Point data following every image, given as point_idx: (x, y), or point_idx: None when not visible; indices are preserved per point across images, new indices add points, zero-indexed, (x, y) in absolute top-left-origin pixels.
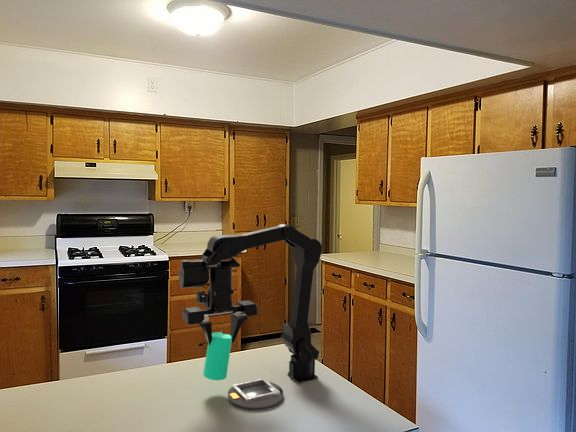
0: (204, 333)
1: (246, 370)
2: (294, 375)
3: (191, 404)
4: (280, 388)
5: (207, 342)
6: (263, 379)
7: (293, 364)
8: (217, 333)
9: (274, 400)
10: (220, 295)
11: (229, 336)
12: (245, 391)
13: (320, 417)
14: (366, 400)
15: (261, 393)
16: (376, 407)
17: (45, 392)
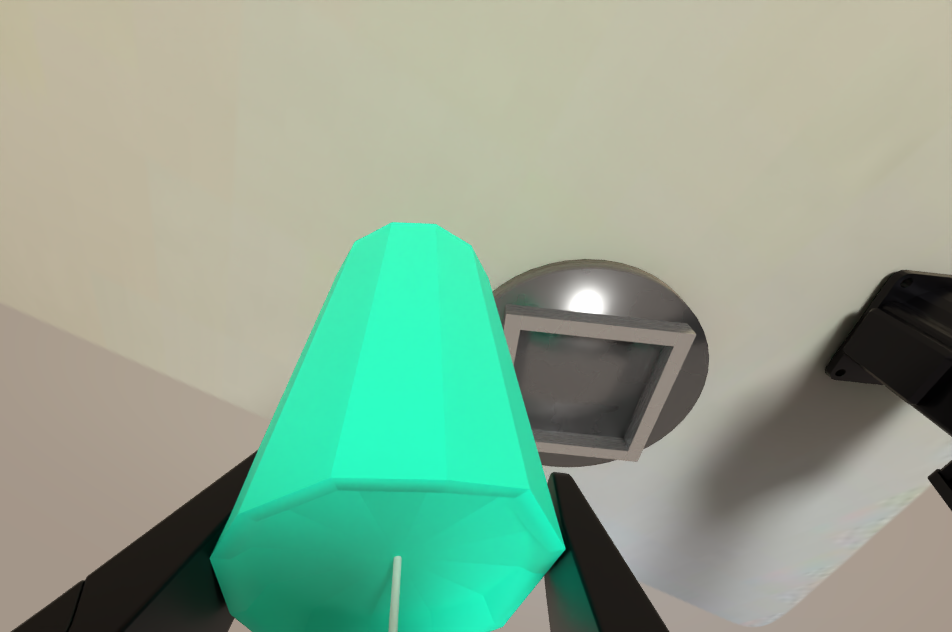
0: (88, 593)
1: (795, 40)
2: (857, 362)
3: (298, 289)
4: (686, 409)
5: (239, 467)
6: (681, 345)
7: (909, 400)
8: (395, 482)
9: (586, 462)
10: None
11: (536, 549)
12: (542, 358)
13: (637, 541)
14: (834, 547)
15: (587, 404)
16: (805, 574)
17: None
